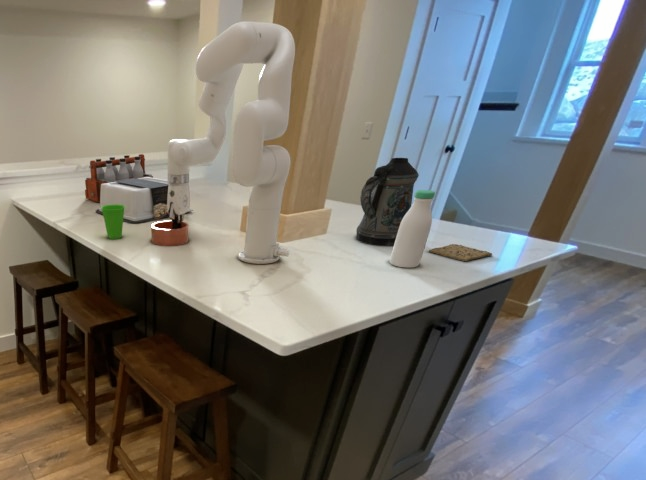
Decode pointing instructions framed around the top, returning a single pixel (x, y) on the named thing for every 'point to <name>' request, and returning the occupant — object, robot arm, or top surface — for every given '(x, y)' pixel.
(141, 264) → the top surface
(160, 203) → the cake box
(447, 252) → the cookie
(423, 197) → the milk bottle
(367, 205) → the beer stein
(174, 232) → the bowl
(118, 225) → the cup
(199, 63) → the robot arm
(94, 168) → the milk bottle holder
